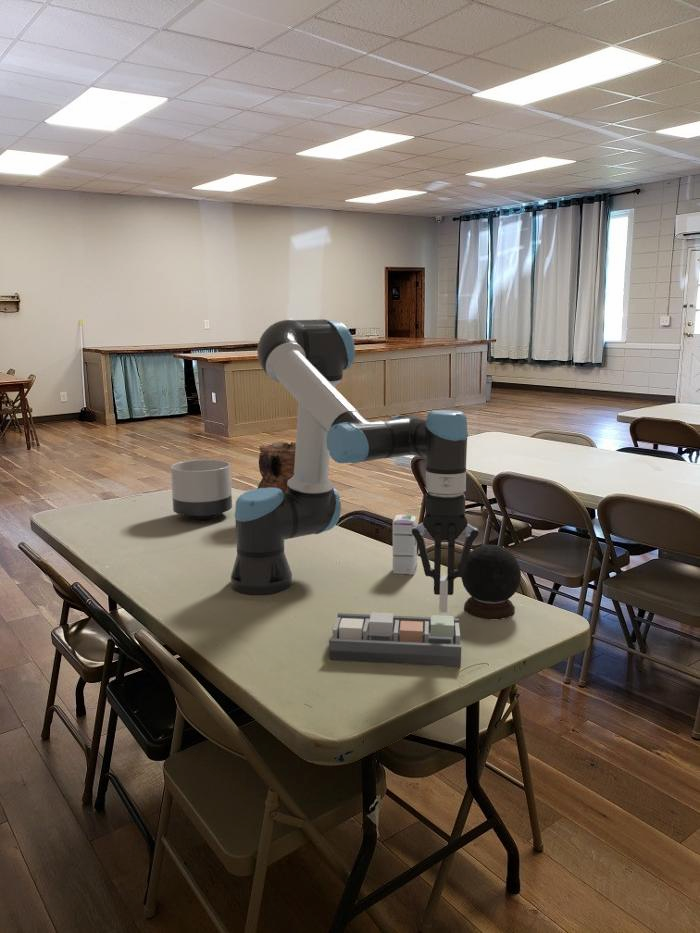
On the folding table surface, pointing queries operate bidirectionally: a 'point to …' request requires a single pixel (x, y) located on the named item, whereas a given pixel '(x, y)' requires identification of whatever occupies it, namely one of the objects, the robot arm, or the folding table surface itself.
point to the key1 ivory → (351, 628)
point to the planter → (201, 488)
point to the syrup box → (404, 545)
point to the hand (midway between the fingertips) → (443, 609)
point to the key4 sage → (442, 626)
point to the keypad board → (396, 644)
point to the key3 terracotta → (411, 631)
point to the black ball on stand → (491, 582)
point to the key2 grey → (381, 623)
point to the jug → (276, 465)
